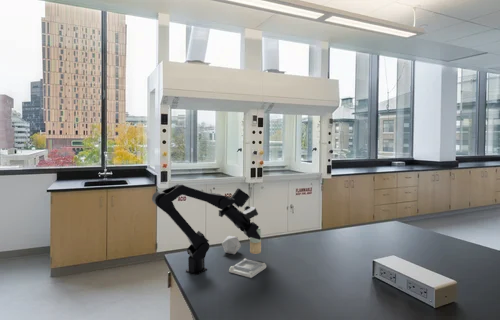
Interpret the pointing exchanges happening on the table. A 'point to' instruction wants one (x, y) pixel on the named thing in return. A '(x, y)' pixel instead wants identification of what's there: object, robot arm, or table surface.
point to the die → (231, 244)
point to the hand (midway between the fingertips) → (258, 237)
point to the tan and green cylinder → (255, 244)
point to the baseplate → (247, 268)
